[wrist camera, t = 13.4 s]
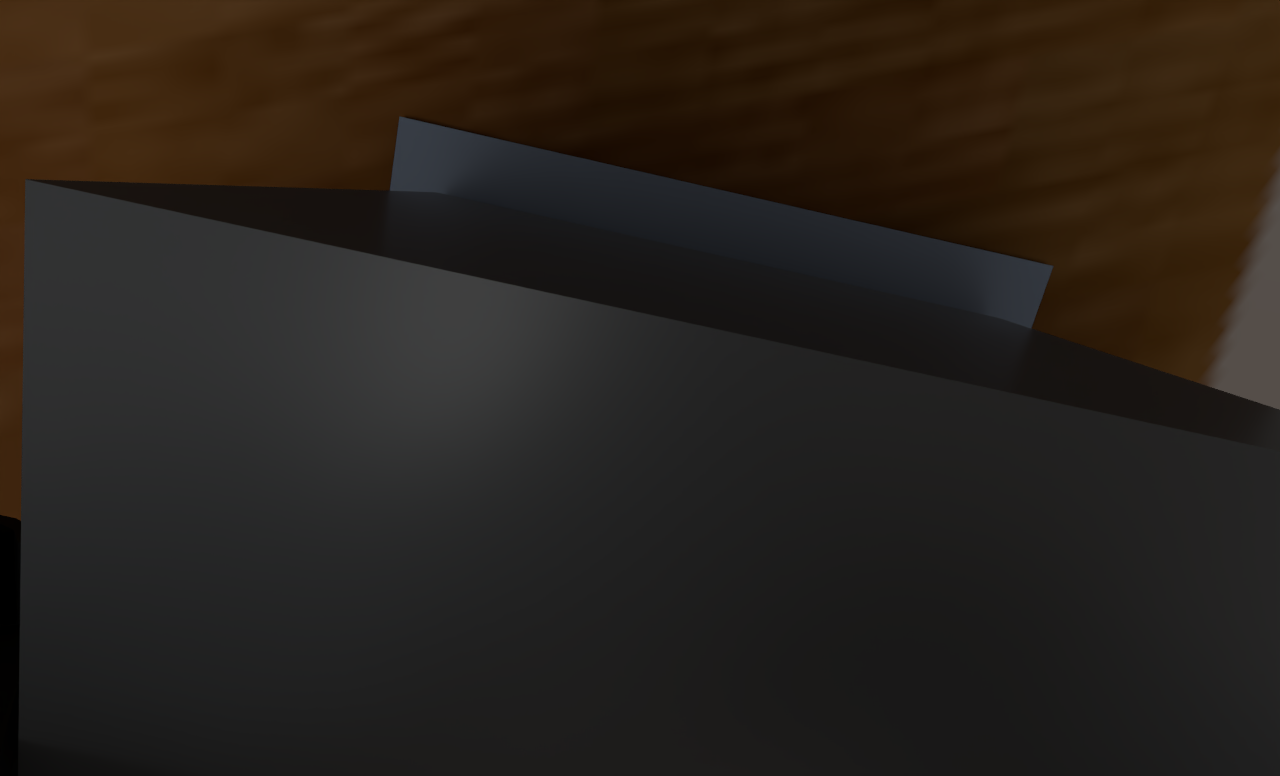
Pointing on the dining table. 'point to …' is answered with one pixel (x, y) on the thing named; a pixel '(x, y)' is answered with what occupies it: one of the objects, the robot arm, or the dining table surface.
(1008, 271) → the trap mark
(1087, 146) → the dining table surface
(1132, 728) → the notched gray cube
